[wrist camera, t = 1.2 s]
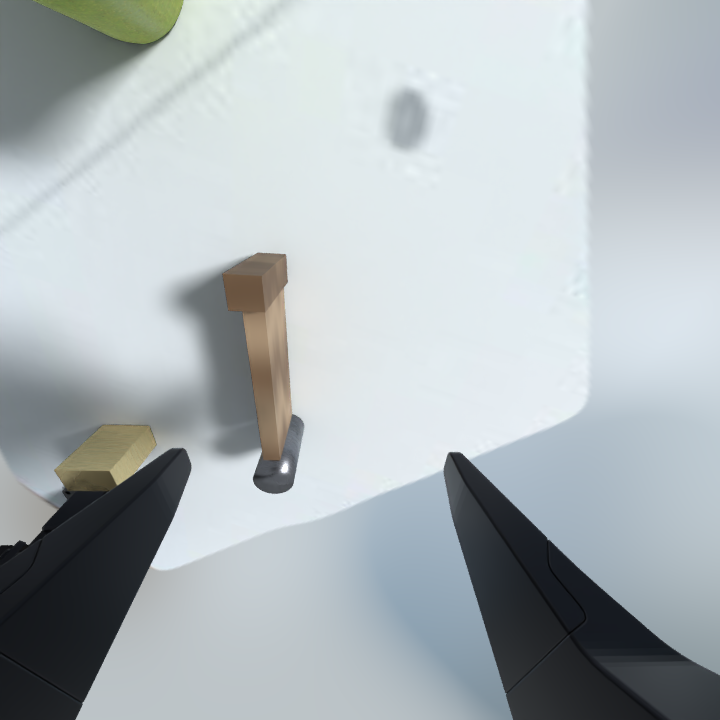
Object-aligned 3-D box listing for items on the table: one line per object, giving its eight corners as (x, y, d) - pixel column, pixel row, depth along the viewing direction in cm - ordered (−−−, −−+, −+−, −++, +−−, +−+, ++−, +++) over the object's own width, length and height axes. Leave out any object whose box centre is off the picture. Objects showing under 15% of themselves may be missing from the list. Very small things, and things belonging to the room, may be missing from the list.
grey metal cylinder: (304, 438, 28) (294, 493, 22) (273, 437, 28) (255, 493, 22) (303, 413, 26) (292, 467, 21) (270, 413, 26) (250, 466, 21)
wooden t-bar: (295, 415, 25) (281, 471, 20) (274, 414, 25) (255, 471, 20) (286, 254, 19) (261, 276, 13) (257, 252, 19) (222, 273, 13)
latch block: (156, 444, 27) (120, 491, 23) (112, 444, 27) (67, 490, 23) (149, 425, 26) (109, 470, 22) (103, 424, 26) (53, 470, 22)
